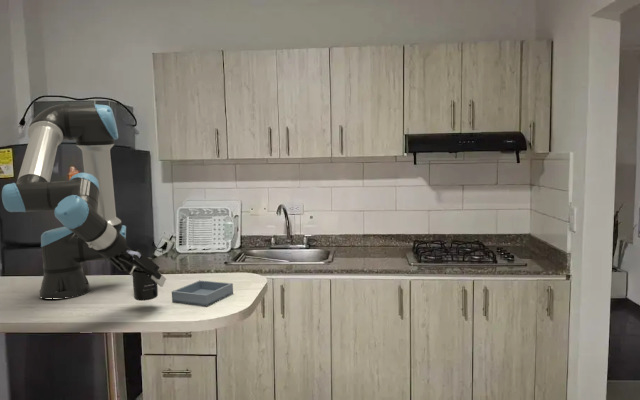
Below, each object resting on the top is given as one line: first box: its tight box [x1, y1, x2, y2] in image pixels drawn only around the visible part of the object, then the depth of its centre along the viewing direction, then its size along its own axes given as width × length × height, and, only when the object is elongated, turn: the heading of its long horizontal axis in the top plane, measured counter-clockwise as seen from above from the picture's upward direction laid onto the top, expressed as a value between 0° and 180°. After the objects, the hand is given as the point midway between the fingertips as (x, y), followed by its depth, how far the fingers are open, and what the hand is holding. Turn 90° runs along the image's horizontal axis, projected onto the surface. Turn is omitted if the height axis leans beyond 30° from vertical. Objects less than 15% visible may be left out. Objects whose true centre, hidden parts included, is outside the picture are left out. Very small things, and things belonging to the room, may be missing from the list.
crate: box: [171, 280, 234, 308], centre depth 145 cm, size 14×14×4 cm
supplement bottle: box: [132, 257, 159, 302], centre depth 136 cm, size 7×7×12 cm
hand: (154, 281), depth 139 cm, fingers closed on supplement bottle, 7 cm apart
